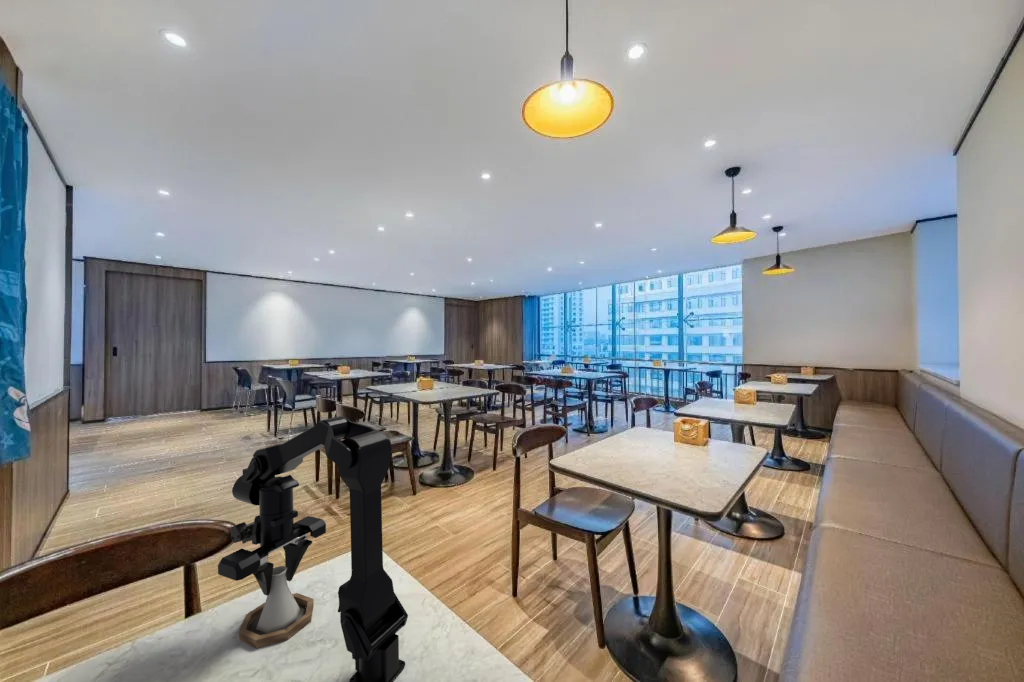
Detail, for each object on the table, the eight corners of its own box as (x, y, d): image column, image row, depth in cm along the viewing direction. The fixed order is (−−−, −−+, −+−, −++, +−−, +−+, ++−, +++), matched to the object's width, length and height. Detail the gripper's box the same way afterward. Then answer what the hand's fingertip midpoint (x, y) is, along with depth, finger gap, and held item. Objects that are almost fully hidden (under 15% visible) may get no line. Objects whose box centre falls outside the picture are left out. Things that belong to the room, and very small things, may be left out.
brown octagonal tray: (325, 610, 80) (325, 602, 80) (269, 654, 69) (269, 645, 69) (285, 595, 84) (285, 588, 84) (226, 634, 73) (226, 627, 73)
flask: (286, 634, 73) (284, 582, 72) (247, 634, 73) (246, 582, 73) (306, 607, 80) (305, 559, 80) (272, 607, 80) (271, 560, 80)
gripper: (291, 486, 88) (292, 554, 88) (198, 522, 71) (200, 607, 71) (327, 493, 84) (328, 565, 84) (237, 533, 66) (239, 624, 67)
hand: (278, 587), depth 76 cm, fingers open, 4 cm apart
